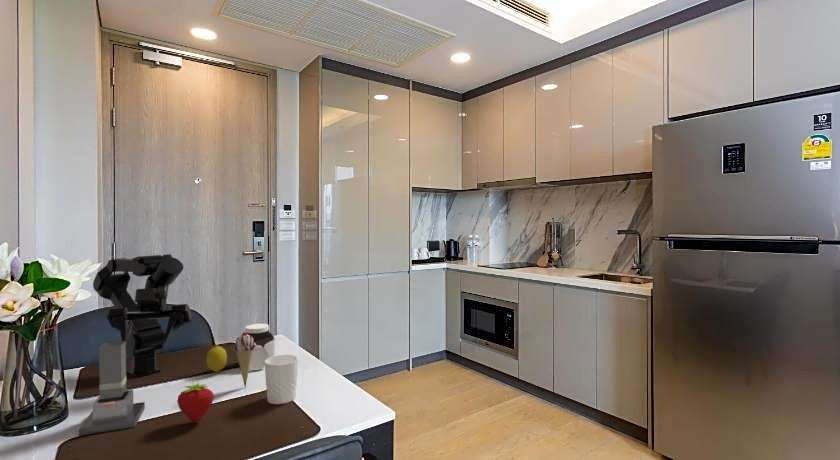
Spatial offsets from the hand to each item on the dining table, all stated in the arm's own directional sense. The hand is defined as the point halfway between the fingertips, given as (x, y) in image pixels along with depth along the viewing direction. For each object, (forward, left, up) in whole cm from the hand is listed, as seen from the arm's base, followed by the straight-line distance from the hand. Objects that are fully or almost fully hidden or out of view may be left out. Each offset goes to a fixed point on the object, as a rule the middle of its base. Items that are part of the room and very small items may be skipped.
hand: (144, 343), depth 110 cm
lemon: (0, +19, -13) cm, 24 cm away
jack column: (+10, -11, -7) cm, 16 cm away
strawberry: (+26, -1, -13) cm, 29 cm away
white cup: (+31, +18, -14) cm, 38 cm away
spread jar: (+4, +30, -14) cm, 34 cm away
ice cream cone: (+17, +17, -13) cm, 28 cm away
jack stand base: (+10, -11, -13) cm, 19 cm away
